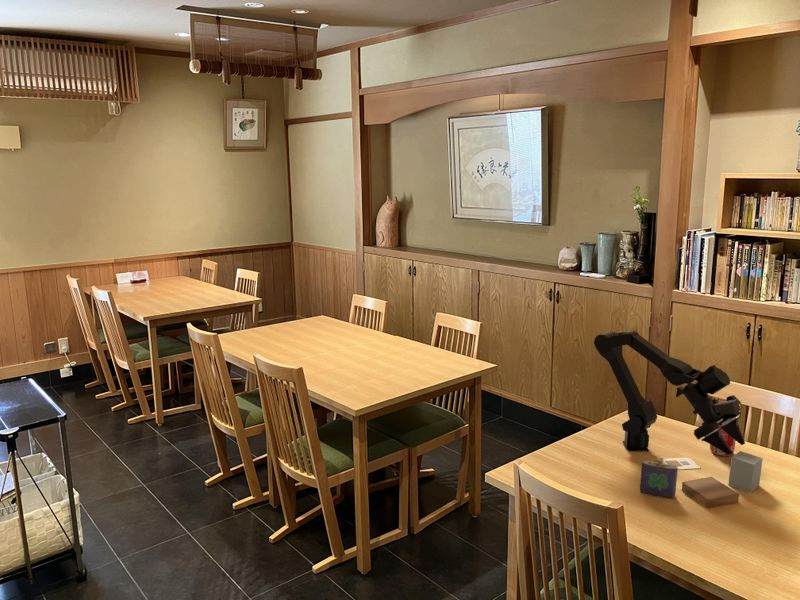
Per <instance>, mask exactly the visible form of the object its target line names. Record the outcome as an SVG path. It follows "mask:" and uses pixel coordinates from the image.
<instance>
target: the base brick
mask: <svg viewBox="0 0 800 600" xmlns="http://www.w3.org/2000/svg"><path fill="white" fill-rule="evenodd" d="M681 491H682V492H683V493H685V494H686V495H688V496H690V498H691V499H693V500H695V501H697V502H698V503H700V505H702V506H704V507H705V508H707V509H712V508H717V507H721V506H727V505H732V504H737V503H739V500H740V499H739V498H740V493H738V491H735V490H734V489H732V488H731V487H730V486H729V485H726V484H724V483H722V482H721V481H720V480H718V479H716V478H715V477H713V476H707V477H703V478H697V479H696V478H695V479H692V480H685V481H682V484H681Z"/></svg>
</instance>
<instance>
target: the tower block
mask: <svg viewBox="0 0 800 600" xmlns="http://www.w3.org/2000/svg"><path fill="white" fill-rule="evenodd" d="M730 459H731V460H730V468H729V477H728V483H727V484H728V485H727V486H729V487H733V488H736V489H739V490H741V491H744V492H747V493H750V494H752V492H754V490H756V489H757V488H758V487H760V482H761V476H762V475H761V474H762V466H763V460H764V459H763V457H760V456H759V455H758V456H757V455H754V454H751V453H748V452H746V451H741V450H739V451H738V452H737V453H736V454H734V455H732V456H731V458H730Z"/></svg>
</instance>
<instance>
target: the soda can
mask: <svg viewBox="0 0 800 600" xmlns="http://www.w3.org/2000/svg"><path fill="white" fill-rule="evenodd" d="M722 426H723V425H719V428H718V430H719V429H720V428H721V427H722ZM721 435H722V437H723V439H724V440H725V442H726V444H727V445H728V447H729V449H730V450H731V452H732V453H731V454H729V455H728V454H726V453H724V452H723V451H721V450H719V449H718V448H716V447H714V446H713V445H711V444H709V450H710V451H711V452H712V453H713V454H715V455H717V456H722V457H729V456H731V455H733V454H734V451H735V449H736V442H737V441H736V440H734V439H733V438H732V437H731V436H730V435H729V434H727V433H726V432H725V431H724V430H723V429H722V431H721Z"/></svg>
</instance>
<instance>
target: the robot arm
mask: <svg viewBox="0 0 800 600" xmlns="http://www.w3.org/2000/svg"><path fill="white" fill-rule="evenodd" d="M593 340H594V341H593V345H594V347H595V350H596V351H597V353H598V354H599V355H600V356H601V358H603V359H604V360H605V361H607V363H608V365H609V366H610V368H611V371H612V373H613V375H614V377H615V380H616V381H617V383H618V386H619V388H620V389H621V390H620V391H621V392H622V395H623V396H624V398H625V401H626V403H627V415H628V420H626V421H625V422H622V424H621V426H622V427H621V428H622V430H623V431H624V440H622V444H623V446H624V448H625V449H626V450H627V451H629V452H649V449H648V447H649V444H650V443H649V442H650V434H649V433H648V432H649V431H648V429H649V428H651V426H652V425H653V424H655V423H656V422H657V419H658V414H657V412H658V411H657V409H656V408H655V406H654V402H653V401H652V399H651V400H648V401H647V399H645V398H644V396H642V394H641V392H640V390H639V387H638V385H637V383H636V381H635V379H634V378H633V375H632V372H631V371H630V369H629V366H628V365H627V363H626V360H625V358H624V356H623V355H624V354H623V346H628V347H629V348H631V349H632V350H633V351H635V352H636V353H638V354H639V355H640V356H641V357H643V358H644V359H646V361H648V362H650V363H651V364H653V366H655V367H656V368H657V369H659V371H660V373H661V375H662V376H663V378H664V379H665V380H667V381H668V382H669V383H670V384H671V385H672V386H678V387H676V394H675V397H676V398H679V397H682V396H684V398H685V399H686V400H687V401H688V403H689V404H690V405H691V407H692V409H694V410H692V413H693V414H694V415H698V416H699V418H700V419H701V420H702V423H701V425H700V426H698V427H697V428H695V429H694V430H693V435H694V437H695V438H696V439H697V440H698V441H699V440H701V442H705V443H707V444H709V445H710V444H711V445H713V446H714V447H716V448H718V449H719V450H721V451H723V452H724V453H726V454H728V455H729V454H731V453H732V452H731V450H730V449H729V447H728V445H727V444H726V442H725V440H724V439H723V437H722V435H721V431H722V429H723V430H724V431H725V432H726V433H727V434H729V435H730V436H731V437H732V438H733V439H734V440H736V442H737V443H738V444H739V445H741V446H743V445H745V444H746V441H745V439H744V437H743V434H742V431H741V429H740V425H739V423H740V419H741V416H740V415H741V414H742V413H741V411H742V409H741V406H740V405H741V404H742V402H741V401H740V400H739V398H737V396H735V395H734V394H733V395H728V396H727V397H726V400H723V401H719V400H718V399H717V398H712V397H711V396H710V395H715V394H717V393H718V392H719V391H722V390H723V389H724V388H726V387H728V386H729V385H730V384H731V380H730V377H729V375H728V374H727V372H725V371H723V369H721V368H718V367H717V366H716V365H715V364H712V365H710V366H709V367H707V369H705V370H704V371H701V370H699V369H696V368H693V366H691V364H689V363H687V362H684V361H683V360H680V359H678V358H675V357H671V356H670V355H668V354H667V353H665V352H664V351H662V350H661V349H659V348H658V347H656V346H655V345H654V344H653V343H651V342H650V341H648V340H647V339H646V338H644V337H643V336H642V335H640V334H639V333H638V331H636V330H630V331H622V332H615V331H612V330H611V331H606V332H604V333H603V332H602V333H600V334H597V335H596V337H595V338H594V339H593ZM695 381H696V382H695ZM694 382H695V383H694ZM684 384H685V386H682V385H684ZM719 425H723V426H722V427H721V428H720V429H719V430H718V428H719ZM731 455H732V454H731ZM729 456H730V455H729Z"/></svg>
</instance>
